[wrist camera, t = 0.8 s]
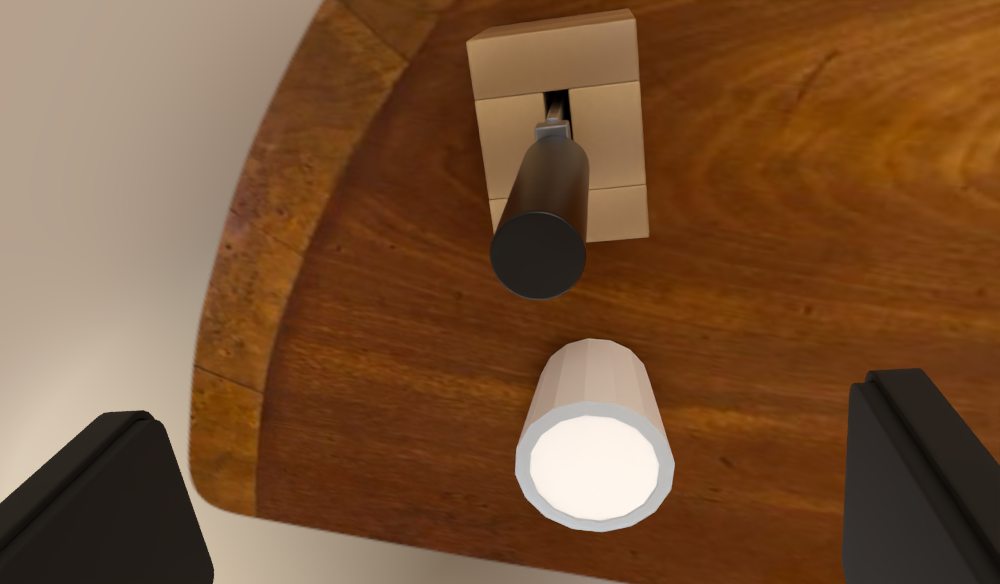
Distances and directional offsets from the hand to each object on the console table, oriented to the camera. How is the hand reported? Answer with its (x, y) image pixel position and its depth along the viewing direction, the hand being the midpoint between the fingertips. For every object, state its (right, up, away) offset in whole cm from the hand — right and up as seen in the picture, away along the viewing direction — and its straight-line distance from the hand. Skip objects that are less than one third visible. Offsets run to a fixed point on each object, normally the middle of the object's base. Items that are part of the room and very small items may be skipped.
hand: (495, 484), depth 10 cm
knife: (+3, +11, +23) cm, 26 cm away
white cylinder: (+5, -2, +29) cm, 29 cm away
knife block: (+3, +11, +23) cm, 26 cm away
